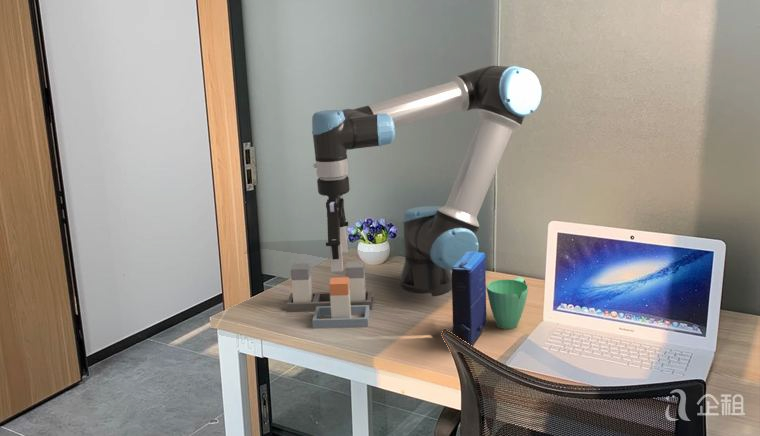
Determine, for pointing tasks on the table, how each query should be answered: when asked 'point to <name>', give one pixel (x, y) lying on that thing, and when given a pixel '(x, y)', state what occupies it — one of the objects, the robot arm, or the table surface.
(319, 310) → the tray
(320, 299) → the block
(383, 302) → the table surface
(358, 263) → the block
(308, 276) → the block
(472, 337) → the book
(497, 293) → the mug
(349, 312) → the block
